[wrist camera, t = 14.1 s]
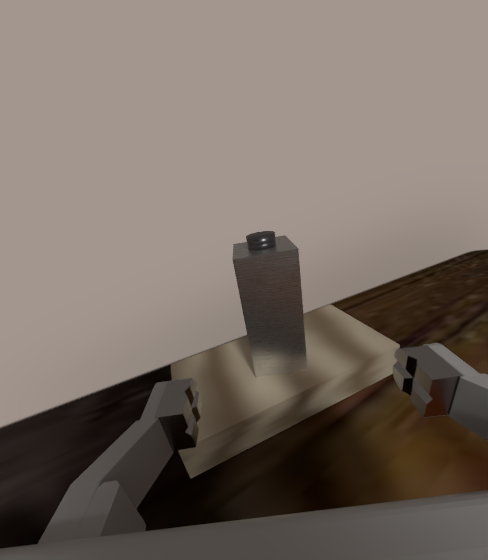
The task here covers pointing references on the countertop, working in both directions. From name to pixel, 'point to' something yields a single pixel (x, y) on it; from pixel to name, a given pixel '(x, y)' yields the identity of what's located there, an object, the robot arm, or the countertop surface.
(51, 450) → the countertop surface
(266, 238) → the aluminium block
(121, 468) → the robot arm
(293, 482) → the countertop surface
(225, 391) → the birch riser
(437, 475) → the countertop surface
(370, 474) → the countertop surface
